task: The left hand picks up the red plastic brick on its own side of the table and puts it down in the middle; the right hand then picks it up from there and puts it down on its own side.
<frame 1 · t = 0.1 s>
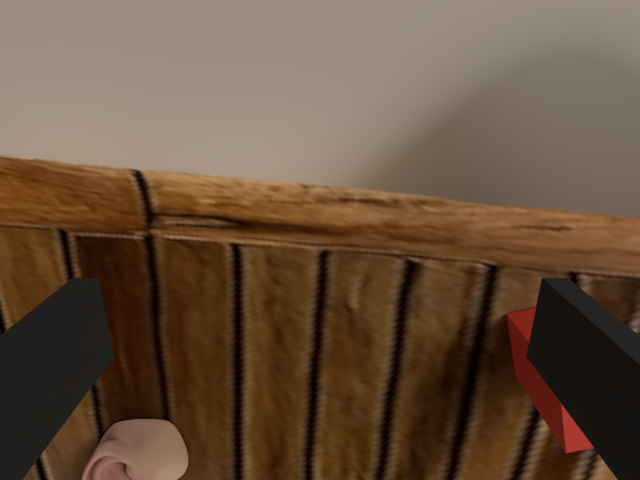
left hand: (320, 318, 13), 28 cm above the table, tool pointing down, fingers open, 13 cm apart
brick: (548, 337, 46), on the table
anatomical model: (140, 456, 52), on the table
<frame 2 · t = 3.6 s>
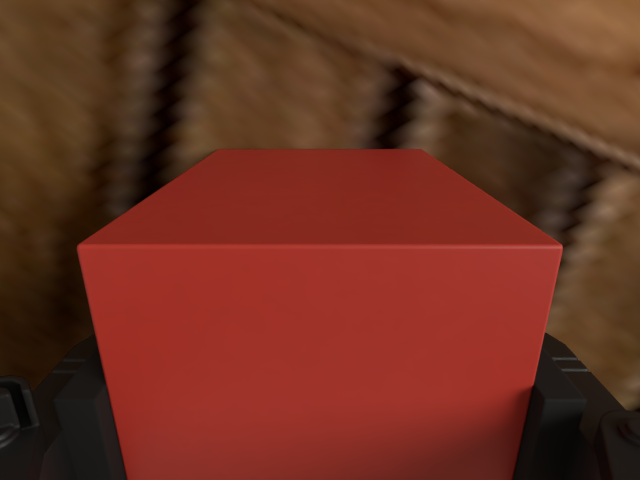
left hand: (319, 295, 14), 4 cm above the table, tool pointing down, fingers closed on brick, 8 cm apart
brick: (319, 247, 18), on the table, touching left hand
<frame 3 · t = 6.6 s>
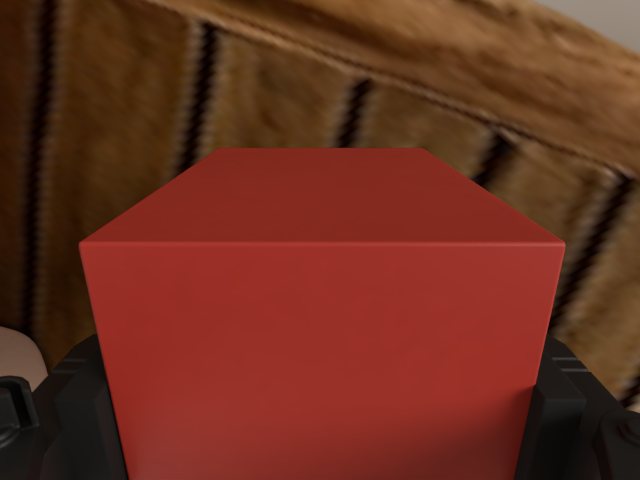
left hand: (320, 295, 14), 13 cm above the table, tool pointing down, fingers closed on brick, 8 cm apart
brick: (320, 246, 18), point 8 cm above the table, touching left hand
when the left hand's fingers open (6 cm above the table, at t = 10.0 s): brick drops 1 cm, on the table.
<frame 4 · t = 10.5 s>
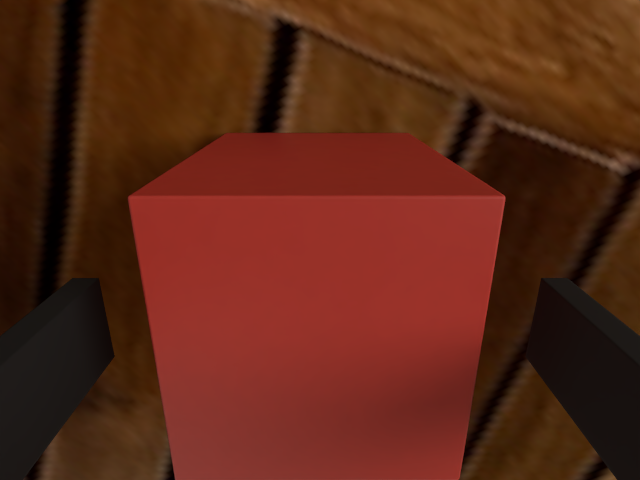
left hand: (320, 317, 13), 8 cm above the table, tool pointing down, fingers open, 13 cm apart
brick: (317, 222, 20), on the table
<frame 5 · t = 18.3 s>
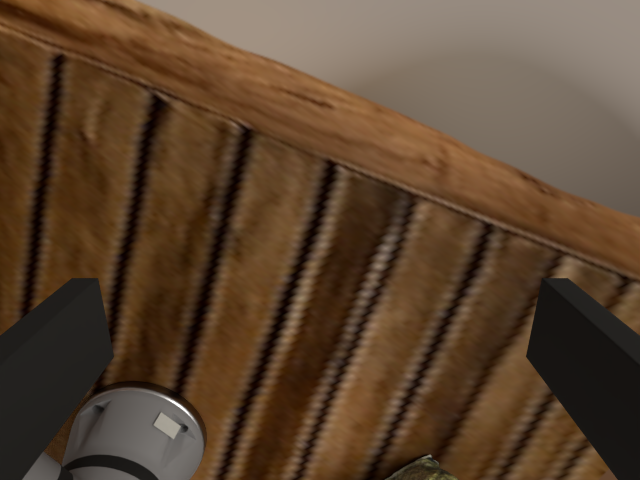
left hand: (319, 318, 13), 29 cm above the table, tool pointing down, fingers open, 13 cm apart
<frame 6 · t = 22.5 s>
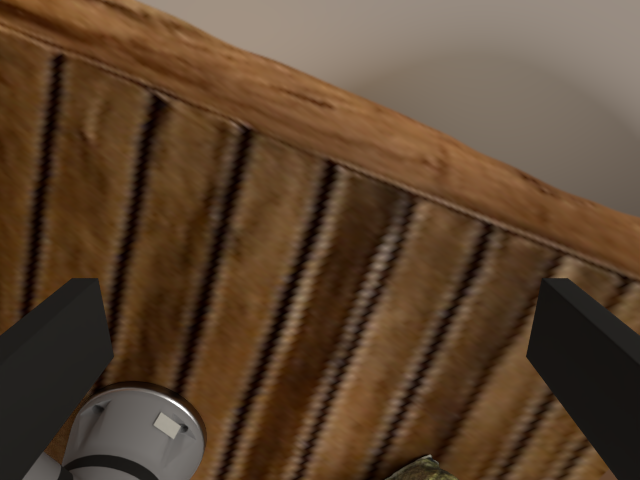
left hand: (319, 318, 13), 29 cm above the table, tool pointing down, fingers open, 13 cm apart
when the right hand's fingers open (6 cm above the table, at t = 26.8 s): brick drops 1 cm, on the table.
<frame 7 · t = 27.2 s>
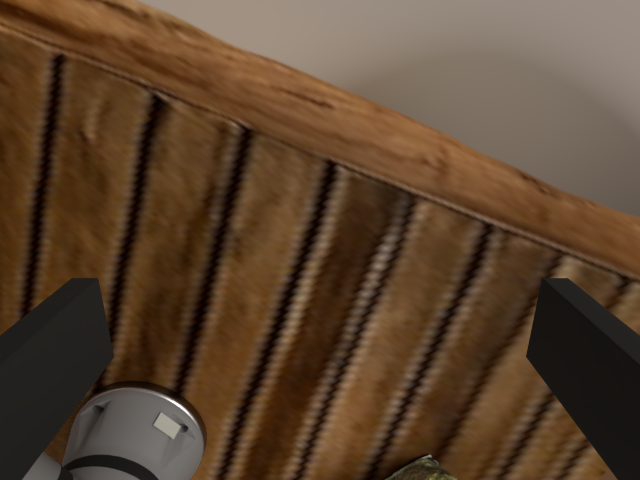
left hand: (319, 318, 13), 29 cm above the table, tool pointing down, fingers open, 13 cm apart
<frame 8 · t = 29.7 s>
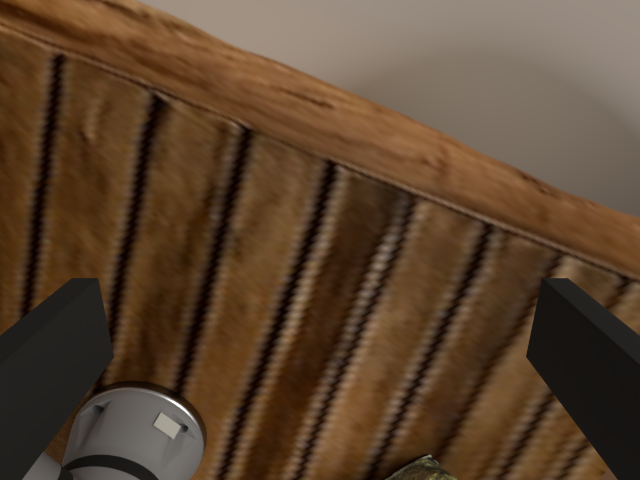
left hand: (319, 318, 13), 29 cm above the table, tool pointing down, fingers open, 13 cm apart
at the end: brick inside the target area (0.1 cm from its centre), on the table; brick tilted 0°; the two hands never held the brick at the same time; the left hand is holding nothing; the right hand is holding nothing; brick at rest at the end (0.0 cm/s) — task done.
